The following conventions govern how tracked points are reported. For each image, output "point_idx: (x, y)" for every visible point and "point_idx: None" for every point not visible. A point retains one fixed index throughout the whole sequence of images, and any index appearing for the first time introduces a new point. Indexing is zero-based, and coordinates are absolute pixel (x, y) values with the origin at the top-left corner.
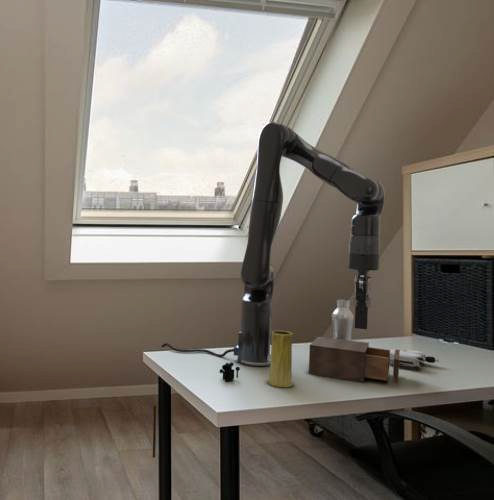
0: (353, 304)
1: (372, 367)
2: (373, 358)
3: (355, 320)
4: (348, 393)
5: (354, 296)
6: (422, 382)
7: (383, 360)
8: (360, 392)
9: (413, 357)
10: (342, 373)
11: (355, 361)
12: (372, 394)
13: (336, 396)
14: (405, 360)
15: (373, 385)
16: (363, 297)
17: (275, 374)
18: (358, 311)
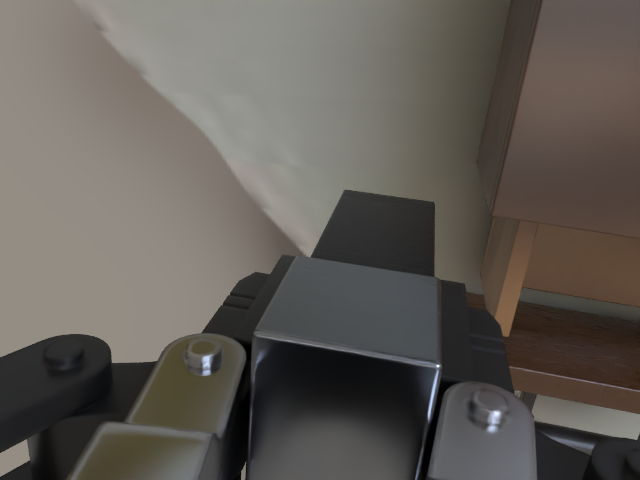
0: (291, 275)
1: (500, 229)
2: (508, 253)
3: (332, 221)
4: (241, 80)
5: (353, 367)
6: (604, 417)
7: (494, 302)
8: (288, 135)
9: None
10: (503, 55)
11: (496, 142)
12: (285, 183)
13: (163, 25)
14: None
15: (443, 203)
16: (35, 469)
17: None
18: (234, 292)
